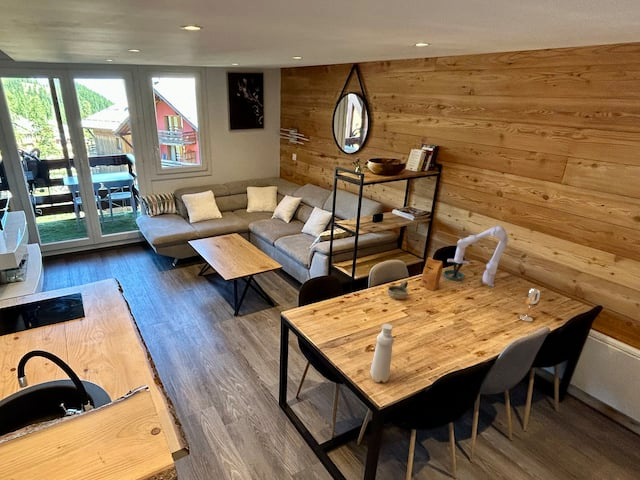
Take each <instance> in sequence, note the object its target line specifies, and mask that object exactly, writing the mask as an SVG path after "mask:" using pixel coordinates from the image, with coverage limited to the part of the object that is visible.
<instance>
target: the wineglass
mask: <svg viewBox="0 0 640 480" xmlns="http://www.w3.org/2000/svg"><path fill="white" fill-rule="evenodd" d="M540 300H541V290H540V289H537V288H529V290H528V291H527V293H526V295H525V296H524V298H523V302H524V304H525V306H527V307H528V308H527V311H526V314H520V315H519V316H518V317H519V319H520V320H522V321H524V322H531V323H532V322H533V321H534V318H532V317H531V316H529V313H530V310H531V308H535V307H537V306H539V304H540Z"/></svg>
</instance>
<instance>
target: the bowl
mask: <svg viewBox="0 0 640 480" xmlns="http://www.w3.org/2000/svg"><path fill="white" fill-rule="evenodd" d="M408 285H409V283H408V280H402V281H401V283H400V284H399V285H390V286H388V287H387V294H388V295H389V296H390V297H391V298H394V299H397V300H403V299H406V298H407V297H408V295H409V289H408Z"/></svg>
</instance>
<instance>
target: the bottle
mask: <svg viewBox="0 0 640 480" xmlns="http://www.w3.org/2000/svg"><path fill="white" fill-rule="evenodd" d="M392 330H393V325H392V324H390V323H383V324H382V326H381V332H379V334H378V335H377V336H376V342H377V343H376V345H375V348H374V354H373V359H372V363H371V365H370V371H369V374H370V376H371V379H372V381H374V382H375V383H381V382H382V383H386V382H387V381H389V380H390V375H391V362H392V354H393V345H394V343H395V339H394V336H393V335H392Z"/></svg>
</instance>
